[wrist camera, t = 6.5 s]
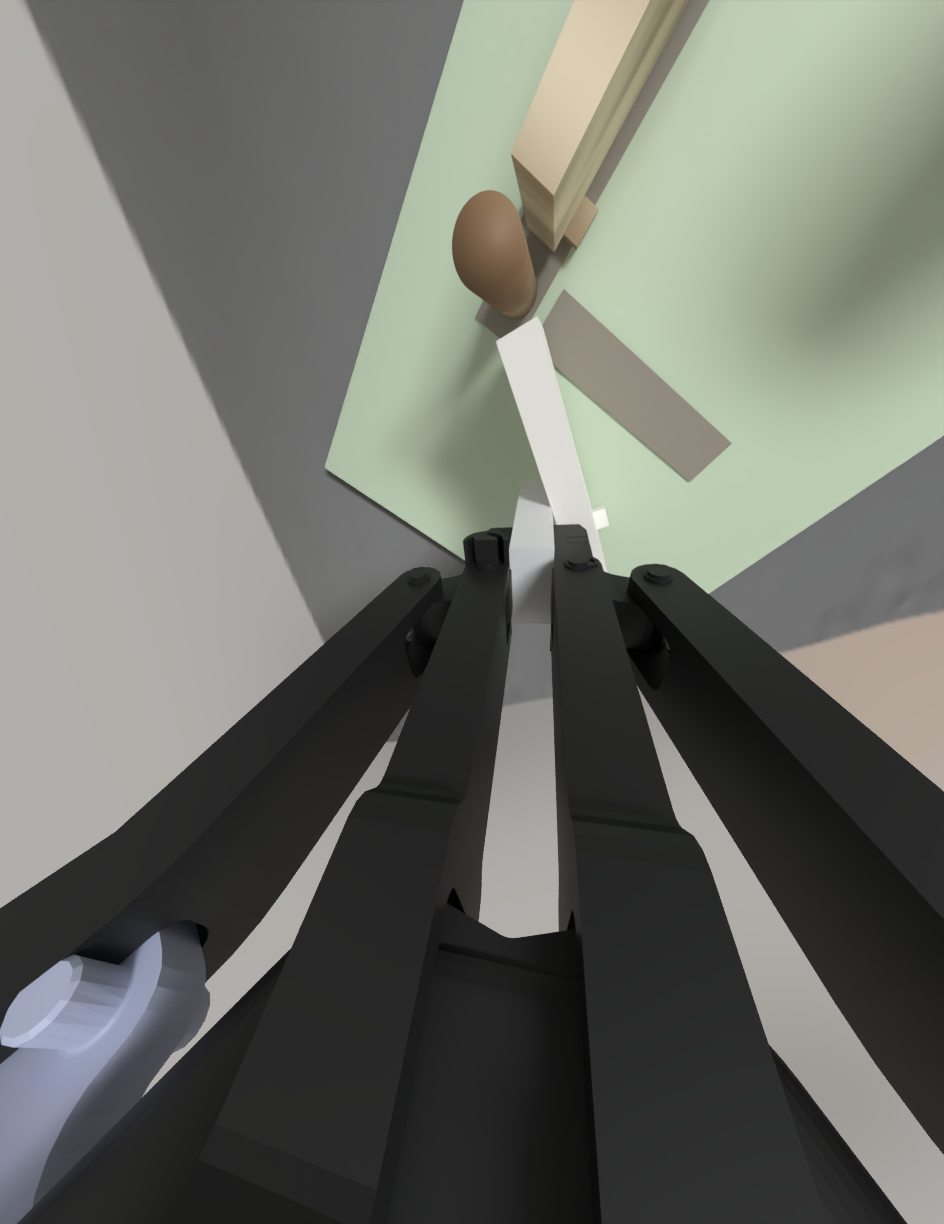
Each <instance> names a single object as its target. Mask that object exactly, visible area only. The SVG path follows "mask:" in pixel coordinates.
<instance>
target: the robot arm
mask: <svg viewBox="0 0 944 1224" xmlns="http://www.w3.org/2000/svg"><path fill="white" fill-rule="evenodd" d="M463 547H464V555H465V563H466V566H465V569H464V572H463V574H461V575H459V576H455V577H450V578H445V579H441V576H440V572H439V571H437V570H436V569H433V568H430V567H419V568H414V569H412V570H409V571H407V572H405V573H403V574H402V575H400V576H399V577H398V578H397V579H396V580H395V581H394V582H393V583H392V584H390V585H389V586H388V587H387V588H386V589H385V590H384V591H383V592H382V593H380V594H379V595H378V596H377V597H376V598H375V599H374V600H373V601H372V602H370V603H369V604H368V605H367V606H366V607H365V608H364V609H363V610H362V611H360V612H359V613H358V614H357V615H356V616H355V617H354V618H353V619H352V620H350V621H349V622H348V623H347V624H346V625H345V626H344V627H343V628H342V629H340V630H339V631H338V632H337V633H336V634H335V635H334V636H333V637H331V638H330V639H329V640H328V641H327V642H326V643H325V644H324V645H323V646H321V647H320V648H319V649H318V650H317V651H316V652H315V653H314V654H313V655H312V656H310V657H309V658H308V659H307V660H306V661H305V662H304V663H303V664H302V665H300V666H299V667H298V668H297V669H296V670H295V671H294V672H293V673H291V674H290V675H289V676H288V677H287V678H286V679H285V680H284V681H283V682H281V683H280V684H279V685H278V686H277V687H276V688H275V689H274V690H273V691H272V692H270V693H269V694H268V695H267V696H266V697H265V698H264V699H263V700H262V701H260V702H259V703H258V704H257V705H256V706H255V707H254V708H253V709H252V710H250V711H249V712H248V713H247V714H246V715H245V716H244V717H243V718H241V720H239V721H238V722H237V723H236V724H235V725H234V726H232V727H231V728H230V729H229V730H228V731H227V732H226V733H225V734H224V735H222V736H221V737H220V738H219V739H218V740H217V741H216V742H215V743H214V744H212V745H211V746H210V747H209V748H208V749H207V750H206V751H205V752H204V753H202V754H201V755H200V756H199V757H198V758H197V759H196V760H195V761H194V762H192V763H191V764H190V765H189V766H188V767H187V768H186V769H185V770H184V771H183V772H181V773H180V774H179V775H178V776H177V777H176V778H175V779H174V780H173V781H171V782H170V783H169V784H168V785H167V786H166V787H165V788H164V789H162V790H161V791H160V792H159V793H158V794H157V795H156V796H155V797H154V798H152V799H151V800H150V801H149V802H148V803H147V804H146V805H145V806H144V807H142V808H141V809H140V810H139V811H138V812H137V813H136V814H135V815H134V816H132V817H131V818H130V819H129V820H128V821H127V822H126V823H125V824H124V825H123V826H121V827H120V828H119V829H118V830H117V831H116V832H115V833H113V834H111V835H110V836H108V837H107V838H105V839H104V840H102V841H101V842H100V843H98V844H96V845H95V846H93V847H92V848H90V849H89V850H88V851H86V852H84V853H83V854H81V855H80V856H78V857H77V858H75V859H74V860H72V861H71V862H69V863H68V864H66V865H65V866H63V867H62V868H60V869H59V870H57V871H56V872H54V873H53V874H51V875H50V876H48V877H47V878H45V879H44V880H42V881H41V882H39V883H38V884H36V885H35V886H34V887H32V888H30V889H29V890H27V891H26V892H24V893H23V894H21V895H20V896H18V897H17V898H15V899H14V900H12V901H11V902H9V903H8V904H6V905H5V906H3V907H2V908H0V1224H907V1223H906V1221H905V1220H904V1219H903V1218H902V1216H901V1215H900V1214H899V1212H898V1211H897V1210H896V1208H895V1207H894V1206H893V1204H892V1203H891V1202H890V1200H889V1199H888V1198H887V1196H886V1195H885V1194H884V1192H883V1191H882V1190H881V1188H880V1187H879V1186H878V1185H877V1183H876V1182H875V1180H874V1179H873V1178H872V1177H871V1175H870V1174H869V1173H868V1171H867V1170H866V1169H865V1167H864V1166H863V1165H862V1163H861V1162H860V1161H859V1159H858V1158H857V1157H856V1155H854V1153H853V1152H852V1150H851V1149H850V1147H849V1146H848V1145H847V1143H846V1142H845V1141H844V1140H843V1138H842V1137H841V1136H840V1134H839V1133H838V1132H837V1130H836V1129H835V1128H834V1126H833V1125H832V1124H831V1122H830V1121H829V1120H828V1118H827V1117H826V1116H825V1114H824V1113H823V1112H822V1110H821V1109H820V1108H819V1107H818V1105H817V1104H816V1103H815V1101H814V1100H813V1099H812V1097H811V1096H810V1095H809V1093H808V1092H807V1091H806V1089H805V1088H804V1087H803V1085H802V1084H801V1083H800V1081H799V1080H798V1079H797V1078H796V1076H795V1075H794V1074H793V1073H792V1071H791V1070H790V1069H789V1068H788V1066H787V1065H786V1064H785V1062H784V1061H783V1060H782V1059H781V1058H780V1057H779V1056H778V1055H777V1053H776V1052H775V1051H774V1050H773V1049H772V1047H771V1046H770V1045H769V1044H768V1041H767V1038H766V1035H765V1032H764V1030H763V1026H762V1023H761V1020H760V1017H759V1014H758V1011H757V1008H756V1005H755V1002H754V999H753V996H752V993H751V990H750V987H749V984H748V981H747V978H746V975H745V972H744V969H743V966H742V963H741V960H740V957H739V954H738V951H737V947H736V945H735V941H734V938H733V935H732V932H731V929H730V926H729V924H728V921H727V917H726V914H725V911H724V908H723V905H722V902H721V899H720V896H719V893H718V890H717V887H716V884H715V881H714V878H713V875H712V872H711V869H710V867H709V864H708V862H707V860H706V857H705V855H704V852H703V850H702V848H701V847H700V845H699V844H698V842H697V840H696V839H695V837H694V836H693V835H692V834H690V833H689V832H687V831H686V830H684V829H683V828H681V826H680V825H679V823H678V821H677V820H676V817H675V814H674V811H673V808H672V805H671V802H670V798H669V795H668V791H667V788H666V784H665V781H664V778H663V774H662V771H661V767H660V764H659V760H658V757H657V753H656V750H655V747H654V743H653V739H652V736H651V733H650V729H649V726H648V722H647V719H646V715H645V712H644V708H643V705H642V702H641V698H640V695H639V691H638V688H637V686H638V687H639V689H640V691H641V692H642V694H643V695H644V697H645V699H646V700H647V702H648V703H649V705H650V707H651V708H652V710H653V711H654V713H655V714H656V716H657V718H658V719H659V721H660V723H661V724H662V726H663V727H664V729H665V731H666V732H667V734H668V735H669V737H670V739H671V740H672V742H673V744H674V745H675V747H676V748H677V750H678V751H679V753H680V755H681V756H682V758H683V760H684V761H685V763H686V764H687V766H688V768H689V769H690V771H691V772H692V774H693V776H694V777H695V779H696V781H697V782H698V784H699V785H700V787H701V789H702V790H703V792H704V793H705V795H706V796H707V798H708V800H709V801H710V803H711V804H712V806H713V808H714V809H715V811H716V813H717V814H718V816H719V817H720V819H721V821H722V822H723V824H724V825H725V827H726V829H727V830H728V832H729V833H730V835H731V837H732V838H733V839H734V842H735V843H736V845H737V846H738V848H739V850H740V851H741V853H742V854H743V856H744V858H745V859H746V861H747V862H748V864H749V866H750V867H751V869H752V870H753V872H754V873H755V875H756V877H757V878H758V880H759V882H760V883H761V885H762V886H763V888H764V890H765V891H766V893H767V894H768V896H769V898H770V899H771V900H772V903H773V904H774V906H775V907H776V909H777V911H778V912H779V914H780V915H781V917H782V918H783V920H784V922H785V923H786V925H787V927H788V928H789V930H790V931H791V933H792V935H793V936H794V938H795V939H796V941H797V943H798V944H799V946H800V947H801V949H802V951H803V952H804V954H805V956H806V957H807V959H808V960H809V962H810V964H811V965H812V967H813V968H814V970H815V972H816V973H817V975H818V976H819V978H820V980H821V981H822V983H823V984H824V986H825V987H826V989H827V991H828V992H829V994H830V996H831V997H832V999H833V1000H834V1002H835V1004H836V1005H837V1007H838V1008H839V1010H840V1011H841V1013H842V1014H843V1016H844V1017H845V1019H846V1020H847V1022H848V1023H849V1025H850V1026H851V1028H852V1029H853V1031H854V1032H855V1034H856V1035H857V1037H858V1038H859V1040H860V1041H861V1043H862V1044H863V1046H864V1047H865V1049H866V1050H867V1052H868V1053H869V1055H870V1056H871V1058H872V1059H873V1061H874V1062H875V1064H876V1065H877V1067H878V1068H879V1069H880V1071H881V1072H882V1073H883V1075H884V1076H885V1077H886V1079H887V1080H888V1082H889V1083H890V1084H891V1086H892V1087H893V1088H894V1090H895V1091H896V1092H897V1094H898V1095H899V1096H900V1098H901V1099H902V1100H903V1102H904V1103H905V1104H906V1106H907V1107H908V1108H909V1110H910V1111H911V1113H912V1114H913V1115H914V1117H915V1118H916V1119H917V1121H918V1122H919V1123H920V1125H921V1126H922V1127H923V1129H924V1130H925V1131H926V1133H927V1134H928V1136H929V1137H930V1138H931V1139H932V1141H933V1142H934V1143H935V1144H936V1145H937V1147H938V1148H939V1149H940V1151H942V1153H943V1154H944V792H943V791H942V790H941V789H940V788H939V787H938V786H936V785H935V784H934V783H933V782H932V781H931V780H929V779H928V778H927V777H926V776H925V775H923V774H922V773H921V772H920V771H919V770H917V769H916V768H915V767H914V766H913V765H911V764H910V763H909V762H908V761H907V760H905V759H904V758H903V757H902V756H901V755H899V754H898V753H897V752H896V751H895V750H893V749H892V748H891V747H890V746H889V745H888V744H886V743H885V742H884V741H883V740H882V739H881V738H879V737H878V736H877V735H876V734H875V733H873V732H872V731H871V730H870V729H869V728H867V727H866V726H865V725H864V724H862V723H861V722H860V721H859V720H858V719H857V718H855V717H854V716H853V715H852V714H851V713H850V712H848V711H847V710H846V709H845V708H843V707H842V706H841V705H840V704H839V703H838V702H836V701H835V700H834V699H833V698H832V697H830V696H829V695H828V694H827V693H826V692H825V691H823V690H822V689H821V688H820V687H819V686H817V685H816V684H815V683H814V682H813V681H811V680H810V679H809V678H808V677H807V676H805V675H804V674H803V673H802V672H800V671H799V670H798V669H797V668H796V667H795V666H794V665H792V664H791V663H790V662H789V661H788V660H786V659H785V658H784V657H783V656H782V655H780V654H779V653H778V652H777V651H776V650H774V649H773V648H772V647H771V646H770V645H769V644H767V643H766V642H765V641H764V640H763V639H761V638H760V637H759V636H758V635H757V634H755V633H754V632H753V631H752V630H751V629H749V628H748V627H747V626H746V625H745V624H743V623H742V622H741V621H740V620H739V619H738V618H736V617H735V616H734V615H733V614H732V613H730V612H729V611H728V610H727V609H726V608H724V607H723V606H722V605H721V604H720V603H718V602H717V601H716V600H715V599H714V598H713V597H711V596H710V595H709V594H708V593H707V592H705V591H704V590H703V589H702V588H701V587H699V586H698V585H697V584H696V583H695V582H693V581H692V580H691V579H690V578H689V577H687V576H686V575H685V574H684V573H682V572H681V571H679V570H677V569H676V568H672V567H669V566H667V565H663V564H661V565H660V564H645V565H641V566H637V567H636V568H634V569H633V570H632V571H631V574H630V577H624V576H618V575H614V574H610V573H607V572H604V570H603V567H602V564H601V562H600V561H599V560H598V559H597V558H595V557H593V554H592V550H591V546H590V543H589V538H588V534H587V530H586V529H585V528H584V527H582V526H581V525H580V524H568V525H553V512H552V508H551V506H550V503H549V500H548V497H547V494H546V491H545V488H544V485H543V482H542V481H524V482H521V486H520V492H519V497H518V503H517V508H516V513H515V519H514V524H513V527H505V528H490V529H489V530H488V531H481V532H477V533H473V534H471V535H469V536H467V537H465V539H464V540H463ZM511 618H512V623H548V624H551V638H550V651H551V656H552V686H553V713H554V714H553V715H554V744H555V773H556V803H557V831H558V861H559V932H553V933H547V934H540V935H533V936H527V937H520V938H507V937H504V936H502V935H500V934H498V933H497V932H495V931H493V930H492V929H490V928H488V927H486V926H485V925H483V924H481V923H480V922H478V920H479V911H480V902H481V885H482V883H481V881H482V860H483V851H484V843H485V835H486V828H487V820H488V812H489V804H490V797H491V789H492V780H493V774H494V766H495V758H496V751H497V743H498V735H499V726H500V720H501V712H502V704H503V696H504V689H505V681H506V673H507V665H508V658H509V650H510V642H511V635H512V626H511ZM409 631H410V632H411V634H410V636H409V637H408V638H407V639H406V636H407V634H408V633H409ZM410 706H411V708H410ZM409 708H410V711H409V713H408V716H407V718H406V721H405V723H404V726H403V729H402V731H401V734H400V736H399V739H398V741H397V744H396V747H395V749H394V752H393V754H392V757H391V759H390V762H389V765H388V767H387V770H386V772H385V775H384V777H383V779H382V781H381V783H380V784H379V785H378V786H377V787H376V788H374V789H371V790H368V791H365V792H364V793H363V794H362V795H361V797H360V798H359V799H358V800H357V801H356V803H355V805H354V807H353V809H352V811H351V812H350V814H349V816H348V818H347V821H346V823H345V825H344V828H343V830H342V832H341V834H340V837H339V839H338V842H337V844H336V846H335V848H334V851H333V853H332V855H331V858H330V860H329V862H328V865H327V867H326V869H325V872H324V874H323V876H322V879H321V881H320V883H319V886H318V888H317V890H316V892H315V895H314V897H313V899H312V902H311V904H310V906H309V909H308V911H307V913H306V916H305V918H304V920H303V922H302V925H301V927H300V929H299V932H298V934H297V936H296V939H295V941H294V943H293V946H292V948H291V949H290V950H289V951H288V952H287V953H286V954H285V955H284V956H283V957H282V958H281V959H280V960H279V961H278V962H277V963H276V964H275V965H274V966H273V967H272V968H271V969H270V970H269V971H268V972H267V973H266V974H265V975H264V976H263V977H262V978H261V979H260V980H259V981H258V982H257V983H256V984H255V985H254V986H253V987H252V988H251V989H250V990H249V991H248V992H247V993H246V994H245V995H244V996H243V997H242V998H241V999H240V1000H239V1001H238V1002H237V1003H236V1004H235V1005H234V1006H233V1007H232V1008H231V1009H230V1010H229V1011H228V1012H227V1013H226V1014H225V1015H224V1016H223V1017H222V1018H221V1019H220V1020H219V1021H218V1022H217V1023H216V1024H215V1025H214V1026H213V1027H212V1028H211V1029H210V1030H209V1031H208V1032H207V1033H206V1034H205V1035H204V1036H203V1037H202V1038H201V1039H200V1040H199V1041H198V1042H197V1043H196V1044H195V1045H194V1046H193V1047H192V1048H191V1049H190V1050H189V1051H188V1052H187V1053H186V1054H185V1055H184V1056H183V1057H182V1058H181V1059H180V1060H179V1061H178V1062H177V1063H176V1064H175V1065H174V1066H173V1067H172V1068H171V1069H170V1070H169V1071H168V1072H167V1073H166V1074H165V1075H164V1076H163V1077H162V1079H160V1080H159V1081H158V1082H157V1083H156V1084H155V1085H154V1086H153V1087H152V1089H150V1091H148V1092H147V1093H146V1094H145V1095H144V1096H143V1094H144V1093H145V1091H146V1089H147V1087H148V1086H149V1084H150V1082H151V1081H152V1080H153V1078H154V1077H155V1076H156V1074H157V1073H158V1071H159V1070H160V1069H161V1068H162V1066H163V1065H164V1063H165V1062H166V1061H167V1059H168V1058H169V1057H170V1055H171V1054H172V1053H173V1052H175V1051H177V1050H179V1049H181V1048H183V1047H185V1046H186V1045H187V1044H188V1043H189V1042H190V1041H191V1040H192V1039H193V1038H194V1037H195V1036H196V1034H197V1033H198V1031H199V1029H200V1028H201V1026H202V1024H203V1022H204V1021H205V1019H206V1016H207V1012H208V1009H209V1006H210V993H209V992H208V990H207V989H206V987H205V982H206V981H207V980H208V979H209V978H210V977H211V976H212V975H213V974H214V973H215V972H216V971H217V970H218V969H219V968H220V967H221V966H222V965H223V964H224V963H225V962H226V961H227V960H228V959H229V958H230V957H231V956H232V955H233V953H234V952H235V951H236V950H237V949H238V948H239V946H240V945H241V944H242V943H243V942H244V941H245V939H246V938H247V937H248V936H249V935H250V933H251V932H252V931H253V930H254V929H255V927H256V926H257V925H258V924H259V923H260V922H261V920H262V919H263V918H264V916H265V915H266V914H267V912H268V911H269V910H270V908H271V907H272V905H273V904H274V903H275V902H276V900H277V899H278V898H279V896H280V895H281V893H282V892H283V891H284V889H285V888H286V887H287V885H288V884H289V882H290V881H291V879H292V878H293V876H294V875H295V873H296V872H297V870H298V869H299V868H300V866H301V865H302V863H303V862H304V860H305V859H306V858H307V856H308V855H309V853H310V852H311V850H312V849H313V847H314V846H315V844H316V843H317V842H318V840H319V838H320V837H321V836H322V834H323V833H324V831H325V830H326V828H327V827H328V826H329V824H330V823H331V821H332V820H333V818H334V817H335V815H336V814H337V812H338V811H339V809H340V808H341V807H342V805H343V804H344V802H345V801H346V799H347V798H348V796H349V795H350V793H351V792H352V791H353V789H354V788H355V786H356V785H357V783H358V782H359V780H360V779H361V778H362V776H363V775H364V773H365V772H366V770H367V769H368V767H369V766H370V764H371V763H372V761H373V760H374V758H375V757H376V756H377V754H378V752H379V751H380V750H381V748H382V747H383V745H384V744H385V743H386V741H387V740H388V738H389V737H390V735H391V734H392V732H393V731H394V730H395V728H396V727H397V725H398V724H399V722H400V721H401V719H402V718H403V716H404V715H405V714H406V712H407V711H408V709H409ZM142 1096H143V1097H142Z"/></svg>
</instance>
